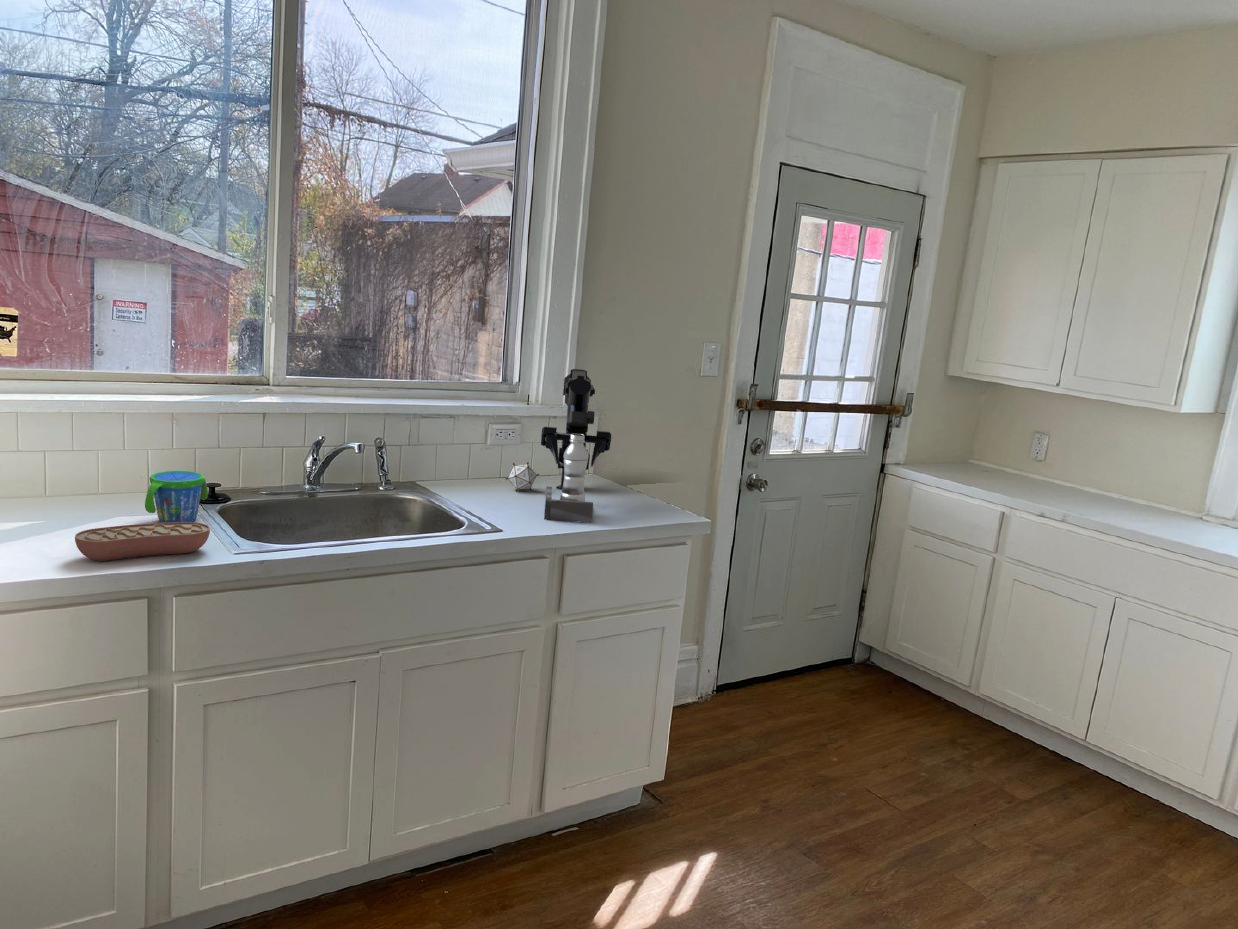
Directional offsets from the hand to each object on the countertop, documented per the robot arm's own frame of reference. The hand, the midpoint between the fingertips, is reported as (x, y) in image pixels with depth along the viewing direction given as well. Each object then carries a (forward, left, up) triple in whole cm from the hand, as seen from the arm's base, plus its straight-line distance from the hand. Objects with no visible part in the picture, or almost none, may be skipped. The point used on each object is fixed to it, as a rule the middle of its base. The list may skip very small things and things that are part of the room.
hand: (574, 464), depth 237 cm
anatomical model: (+91, -50, -12) cm, 104 cm away
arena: (+6, +2, -12) cm, 13 cm away
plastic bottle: (+6, +3, -11) cm, 13 cm away
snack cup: (+70, -64, -12) cm, 95 cm away
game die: (-10, -20, -12) cm, 25 cm away
